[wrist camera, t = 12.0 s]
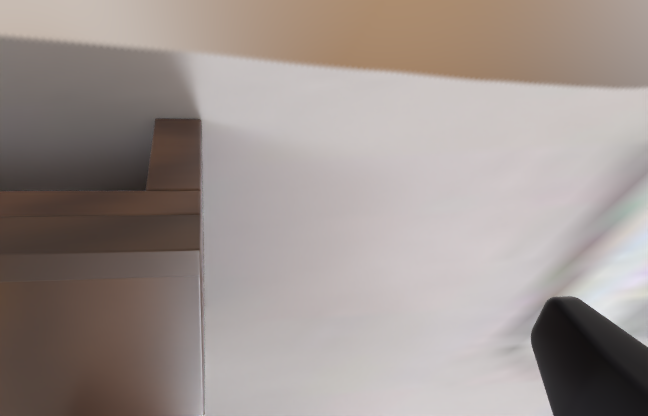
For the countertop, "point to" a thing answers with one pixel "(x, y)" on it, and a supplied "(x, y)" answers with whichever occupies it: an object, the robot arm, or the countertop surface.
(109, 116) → the countertop surface
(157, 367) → the shelf
